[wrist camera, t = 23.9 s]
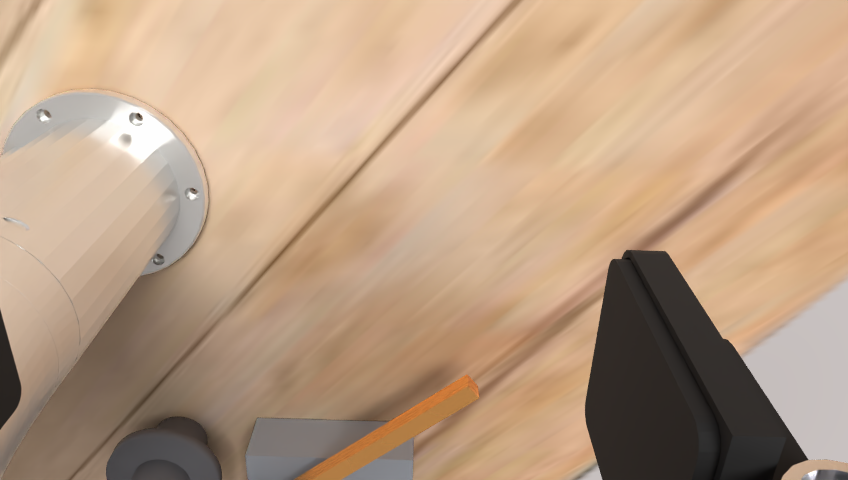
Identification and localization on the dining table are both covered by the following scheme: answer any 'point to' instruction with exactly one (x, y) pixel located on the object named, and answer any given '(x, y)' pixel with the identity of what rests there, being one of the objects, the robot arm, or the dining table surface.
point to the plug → (165, 454)
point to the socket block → (318, 449)
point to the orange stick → (396, 431)
